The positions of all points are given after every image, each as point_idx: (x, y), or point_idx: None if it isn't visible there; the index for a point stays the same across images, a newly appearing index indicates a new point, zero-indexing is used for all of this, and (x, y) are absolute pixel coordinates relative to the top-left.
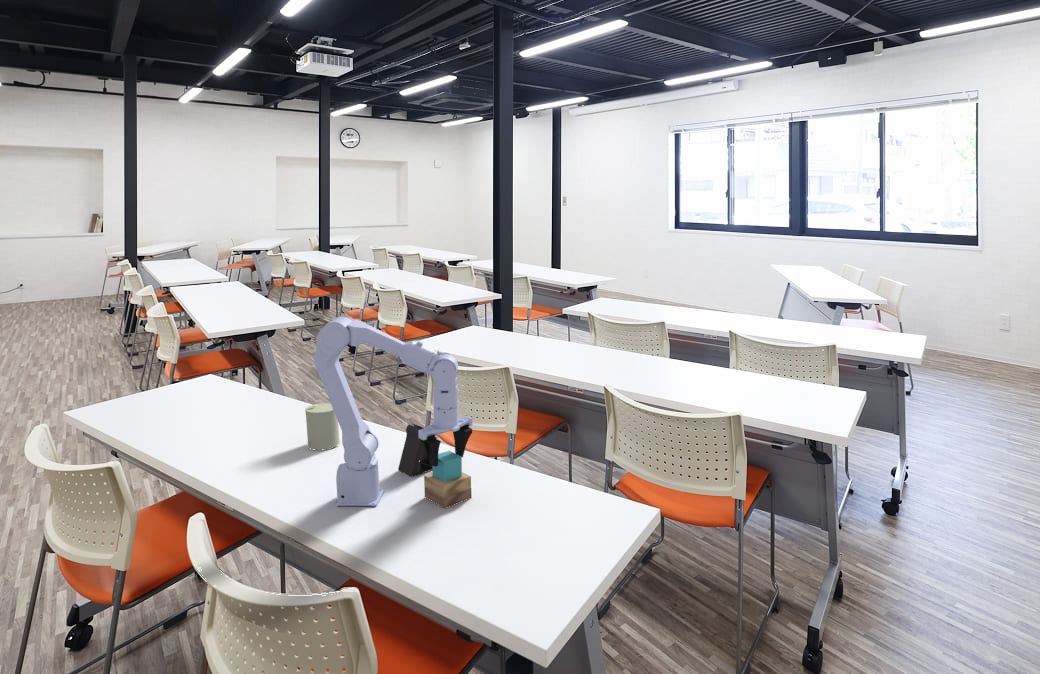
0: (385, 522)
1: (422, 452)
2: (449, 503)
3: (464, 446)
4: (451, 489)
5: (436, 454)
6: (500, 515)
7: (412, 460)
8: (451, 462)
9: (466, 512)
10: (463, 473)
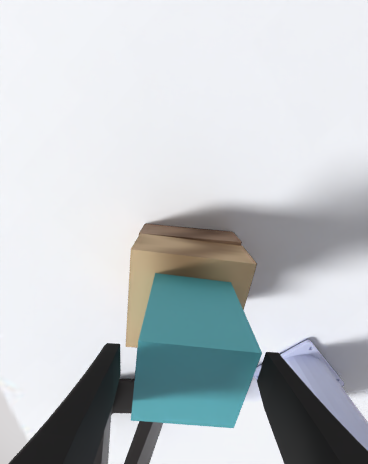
0: (354, 279)
1: (107, 440)
2: (220, 233)
3: (69, 412)
4: (217, 249)
5: (338, 434)
6: (164, 69)
7: (153, 426)
8: (209, 333)
9: (215, 172)
10: (133, 284)
